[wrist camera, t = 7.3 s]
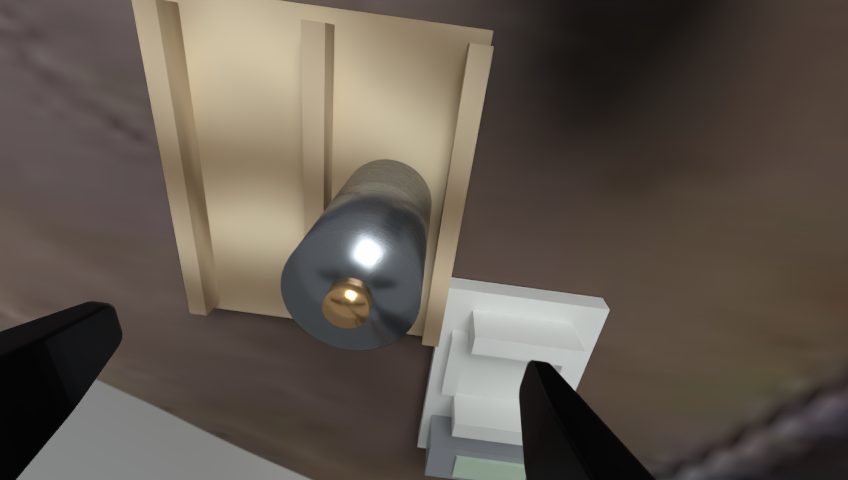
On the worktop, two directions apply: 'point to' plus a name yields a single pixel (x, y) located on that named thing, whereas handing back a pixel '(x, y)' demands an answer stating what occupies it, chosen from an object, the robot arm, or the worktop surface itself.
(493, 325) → the cradle
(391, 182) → the cell
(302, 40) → the wooden tray
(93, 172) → the worktop surface
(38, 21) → the worktop surface
